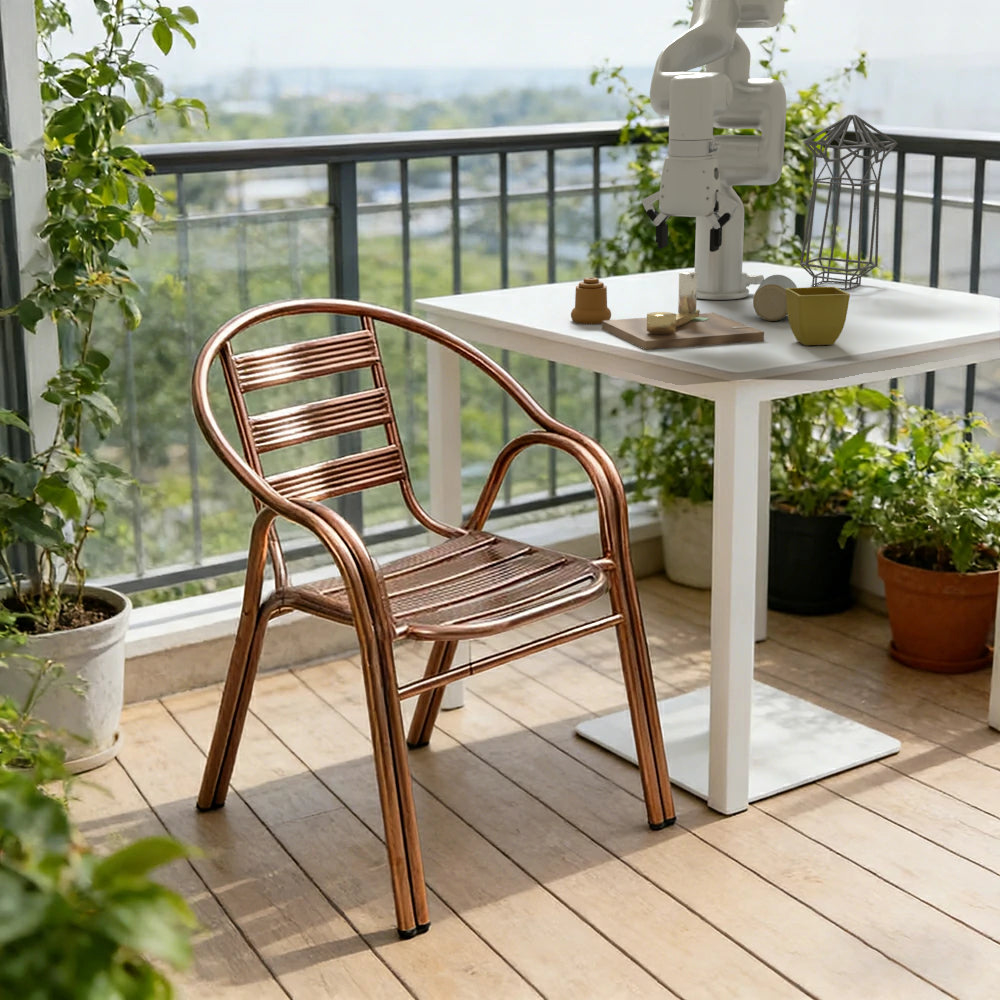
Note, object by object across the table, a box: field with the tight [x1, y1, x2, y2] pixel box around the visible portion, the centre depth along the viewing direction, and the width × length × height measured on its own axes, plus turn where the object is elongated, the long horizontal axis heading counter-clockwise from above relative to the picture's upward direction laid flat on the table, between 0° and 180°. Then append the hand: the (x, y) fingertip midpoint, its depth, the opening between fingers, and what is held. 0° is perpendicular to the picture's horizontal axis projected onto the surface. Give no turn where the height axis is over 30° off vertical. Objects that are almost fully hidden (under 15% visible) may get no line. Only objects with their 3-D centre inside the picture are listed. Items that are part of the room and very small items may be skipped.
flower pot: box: [786, 286, 851, 347], centre depth 240 cm, size 9×9×9 cm
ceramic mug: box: [752, 274, 798, 322], centre depth 262 cm, size 11×8×8 cm
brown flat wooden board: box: [601, 312, 765, 350], centre depth 249 cm, size 22×20×2 cm
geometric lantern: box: [799, 114, 898, 291], centre depth 292 cm, size 16×16×35 cm
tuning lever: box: [646, 271, 700, 334], centre depth 247 cm, size 18×5×8 cm, turn 151°
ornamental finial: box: [570, 277, 612, 325], centre depth 262 cm, size 8×8×8 cm
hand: (688, 249), depth 250 cm, fingers open, 9 cm apart
